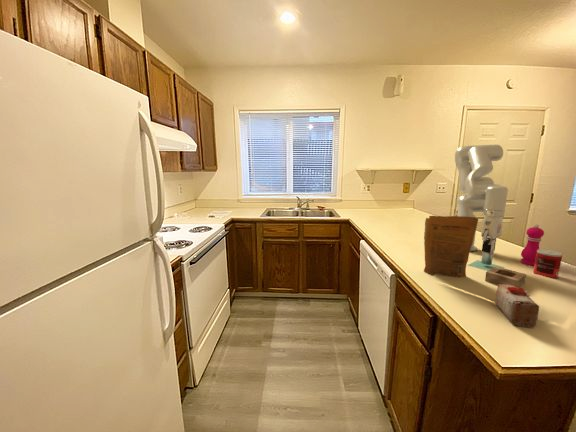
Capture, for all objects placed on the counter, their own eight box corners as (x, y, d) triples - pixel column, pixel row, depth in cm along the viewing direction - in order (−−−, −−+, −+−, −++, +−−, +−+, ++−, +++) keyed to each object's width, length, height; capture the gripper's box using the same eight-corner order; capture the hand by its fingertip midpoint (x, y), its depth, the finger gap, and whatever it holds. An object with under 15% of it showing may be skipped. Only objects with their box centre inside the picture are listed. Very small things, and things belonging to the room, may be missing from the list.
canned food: (550, 272, 112) (554, 249, 109) (562, 280, 104) (567, 256, 102) (528, 271, 114) (532, 248, 112) (539, 278, 107) (544, 254, 105)
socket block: (484, 283, 104) (486, 271, 103) (494, 276, 109) (495, 266, 108) (515, 292, 96) (517, 280, 95) (524, 285, 101) (526, 274, 100)
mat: (467, 267, 120) (467, 265, 120) (477, 261, 126) (477, 260, 126) (495, 275, 111) (495, 273, 111) (504, 269, 117) (504, 267, 117)
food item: (490, 302, 90) (494, 277, 88) (518, 306, 87) (522, 280, 85) (509, 325, 77) (514, 296, 75) (541, 330, 74) (547, 300, 72)
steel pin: (489, 265, 115) (493, 240, 113) (479, 262, 118) (482, 238, 116) (493, 263, 117) (496, 239, 115) (483, 261, 121) (486, 237, 118)
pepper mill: (543, 267, 118) (551, 226, 114) (526, 266, 119) (533, 226, 115) (532, 261, 125) (539, 222, 121) (516, 260, 126) (522, 222, 122)
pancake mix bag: (471, 283, 104) (480, 218, 98) (420, 274, 113) (425, 215, 108) (469, 277, 110) (477, 215, 104) (420, 269, 119) (425, 212, 113)
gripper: (496, 216, 106) (490, 257, 109) (510, 212, 114) (504, 249, 118) (475, 214, 112) (470, 252, 115) (491, 210, 121) (486, 245, 124)
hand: (488, 250), depth 117 cm, fingers closed on steel pin, 4 cm apart
